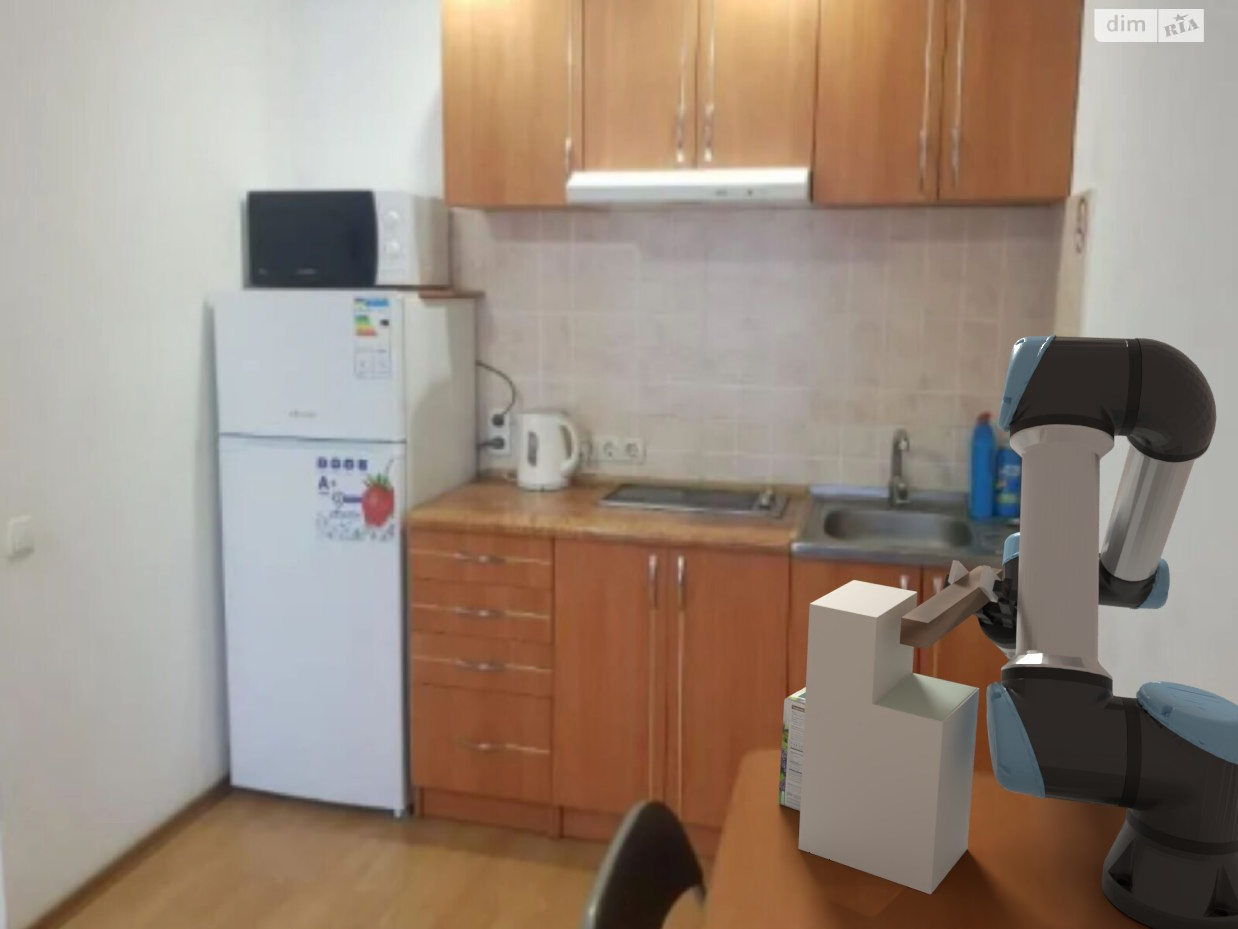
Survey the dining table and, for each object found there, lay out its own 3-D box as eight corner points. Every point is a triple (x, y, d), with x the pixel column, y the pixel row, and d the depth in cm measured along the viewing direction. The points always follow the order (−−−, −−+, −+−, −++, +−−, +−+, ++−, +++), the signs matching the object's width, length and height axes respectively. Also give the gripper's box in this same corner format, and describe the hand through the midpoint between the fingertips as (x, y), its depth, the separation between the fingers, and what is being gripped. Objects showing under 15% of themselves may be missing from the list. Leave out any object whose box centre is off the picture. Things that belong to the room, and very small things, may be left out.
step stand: (967, 849, 132) (985, 604, 126) (930, 894, 122) (949, 632, 116) (841, 809, 141) (853, 580, 135) (798, 848, 131) (809, 603, 126)
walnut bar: (1001, 592, 141) (1003, 569, 141) (926, 649, 120) (927, 623, 120) (977, 588, 143) (979, 565, 142) (899, 643, 122) (901, 617, 122)
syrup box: (800, 788, 146) (805, 683, 144) (840, 802, 143) (846, 695, 140) (777, 804, 142) (781, 696, 139) (818, 819, 138) (823, 708, 136)
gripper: (1067, 662, 147) (1030, 616, 129) (948, 637, 156) (897, 591, 138) (1079, 608, 149) (1043, 555, 130) (960, 586, 158) (911, 534, 140)
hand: (968, 573), depth 134 cm, fingers closed on walnut bar, 3 cm apart
